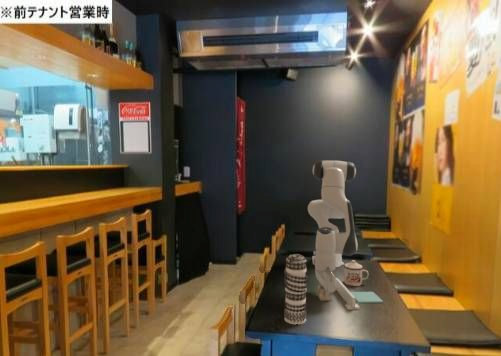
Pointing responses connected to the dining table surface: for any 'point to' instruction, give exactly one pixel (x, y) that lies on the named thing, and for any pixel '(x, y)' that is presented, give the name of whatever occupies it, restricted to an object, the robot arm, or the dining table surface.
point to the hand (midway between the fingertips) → (324, 294)
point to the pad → (366, 297)
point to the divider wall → (346, 295)
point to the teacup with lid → (353, 274)
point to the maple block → (321, 293)
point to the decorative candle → (295, 289)
